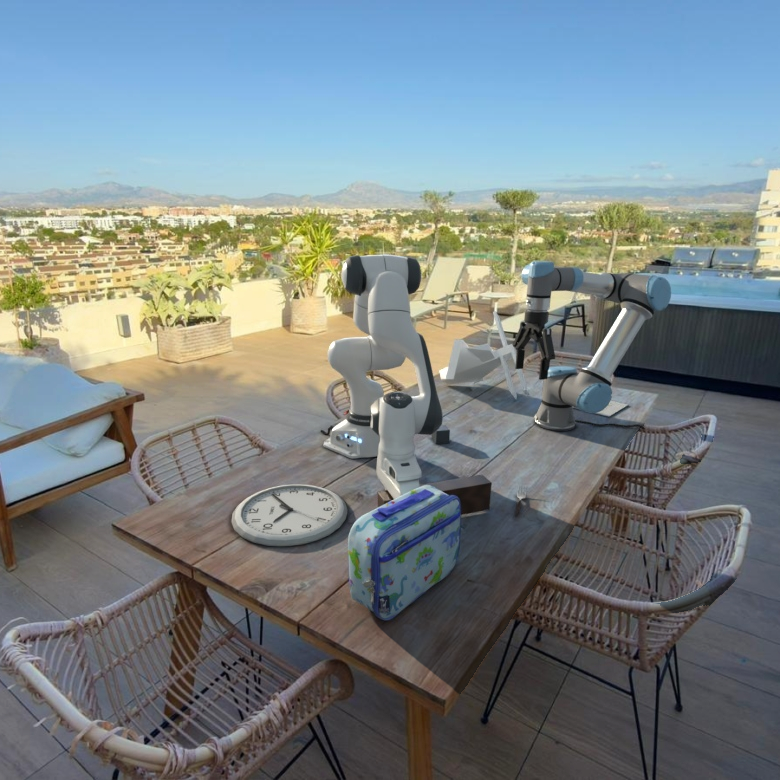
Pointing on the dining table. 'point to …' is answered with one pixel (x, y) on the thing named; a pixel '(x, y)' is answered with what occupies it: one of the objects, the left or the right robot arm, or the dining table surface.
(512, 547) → the dining table surface
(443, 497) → the lunch box
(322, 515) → the wall clock
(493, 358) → the white plastic object
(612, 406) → the invitation card
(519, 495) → the fork
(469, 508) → the plank
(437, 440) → the slate block
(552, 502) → the dining table surface
